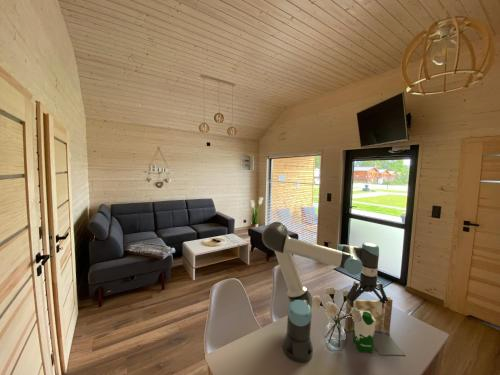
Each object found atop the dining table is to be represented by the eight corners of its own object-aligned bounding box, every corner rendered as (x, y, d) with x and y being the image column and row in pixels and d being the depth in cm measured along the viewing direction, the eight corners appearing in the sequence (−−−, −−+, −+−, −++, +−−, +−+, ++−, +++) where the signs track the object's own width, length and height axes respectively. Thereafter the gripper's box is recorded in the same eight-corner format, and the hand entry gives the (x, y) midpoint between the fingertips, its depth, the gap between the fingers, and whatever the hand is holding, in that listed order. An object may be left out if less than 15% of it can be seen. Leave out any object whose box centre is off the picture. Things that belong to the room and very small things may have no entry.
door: (352, 332, 123) (355, 302, 121) (350, 328, 126) (352, 299, 124) (384, 333, 123) (387, 303, 121) (381, 329, 126) (383, 300, 124)
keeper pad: (379, 354, 109) (379, 354, 109) (366, 334, 122) (366, 334, 122) (405, 355, 109) (405, 354, 109) (389, 335, 122) (389, 334, 121)
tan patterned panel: (347, 331, 124) (349, 298, 122) (344, 326, 127) (346, 295, 125) (389, 332, 123) (392, 300, 122) (385, 328, 127) (388, 296, 125)
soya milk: (357, 353, 109) (360, 316, 107) (350, 339, 118) (353, 305, 116) (375, 355, 108) (378, 318, 106) (367, 340, 117) (370, 306, 115)
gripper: (347, 276, 106) (345, 317, 108) (398, 277, 106) (394, 318, 107) (341, 269, 113) (339, 307, 115) (388, 270, 113) (385, 308, 115)
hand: (365, 312), depth 111 cm, fingers open, 13 cm apart
